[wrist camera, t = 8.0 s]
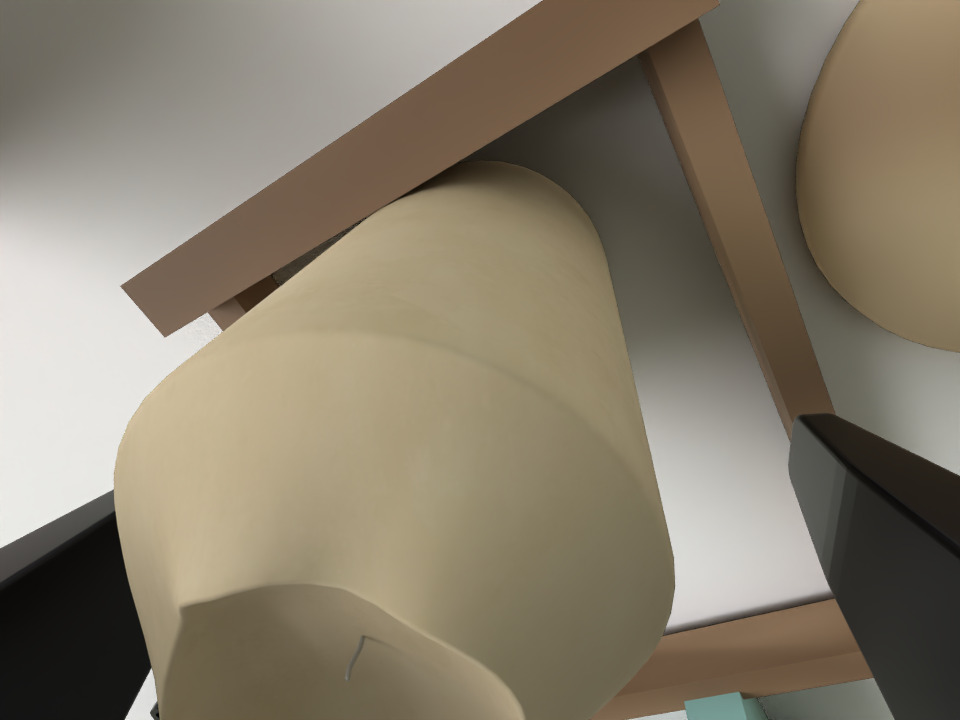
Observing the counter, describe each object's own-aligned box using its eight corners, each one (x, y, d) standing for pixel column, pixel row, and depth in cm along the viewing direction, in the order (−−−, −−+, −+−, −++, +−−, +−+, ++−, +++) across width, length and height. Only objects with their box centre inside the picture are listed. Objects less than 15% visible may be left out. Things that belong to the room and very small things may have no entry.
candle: (430, 404, 15) (238, 903, 6) (331, 211, 12) (-201, 552, 4) (635, 347, 13) (779, 911, 4) (563, 113, 11) (565, 314, 2)
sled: (938, 743, 18) (1051, 949, 14) (627, 783, 22) (643, 955, 18) (651, -52, 9) (724, -148, 5) (210, 241, 13) (40, 326, 9)
